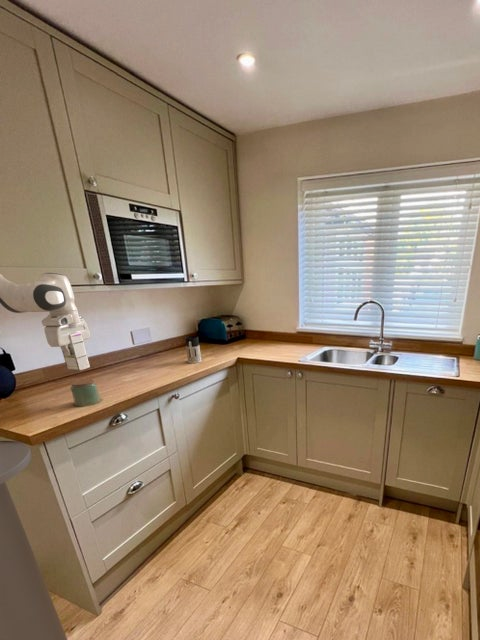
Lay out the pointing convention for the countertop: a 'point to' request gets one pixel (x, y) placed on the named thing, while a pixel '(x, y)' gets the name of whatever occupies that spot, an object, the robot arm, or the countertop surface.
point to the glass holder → (193, 349)
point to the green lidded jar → (85, 392)
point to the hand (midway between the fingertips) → (75, 353)
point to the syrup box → (76, 353)
